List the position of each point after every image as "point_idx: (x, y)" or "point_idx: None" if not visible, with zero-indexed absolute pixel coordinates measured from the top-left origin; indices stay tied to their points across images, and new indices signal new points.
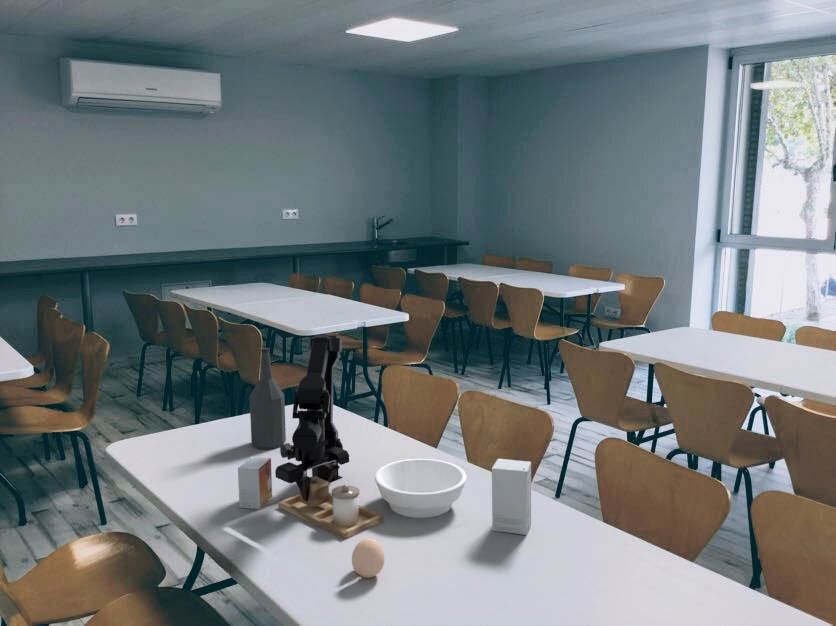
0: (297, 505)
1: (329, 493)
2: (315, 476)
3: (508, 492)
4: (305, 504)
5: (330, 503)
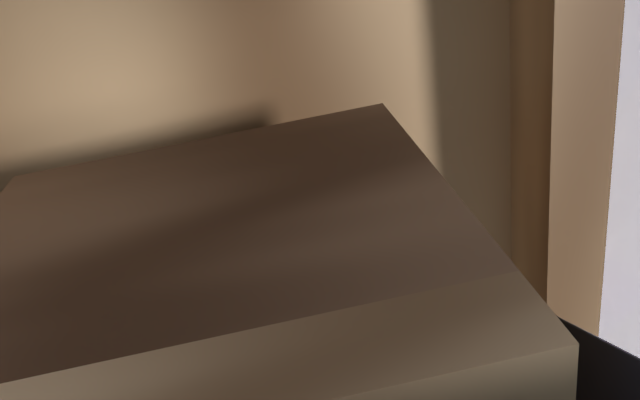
0: (25, 57)
1: (588, 159)
2: (560, 372)
3: None
4: (162, 97)
5: None
